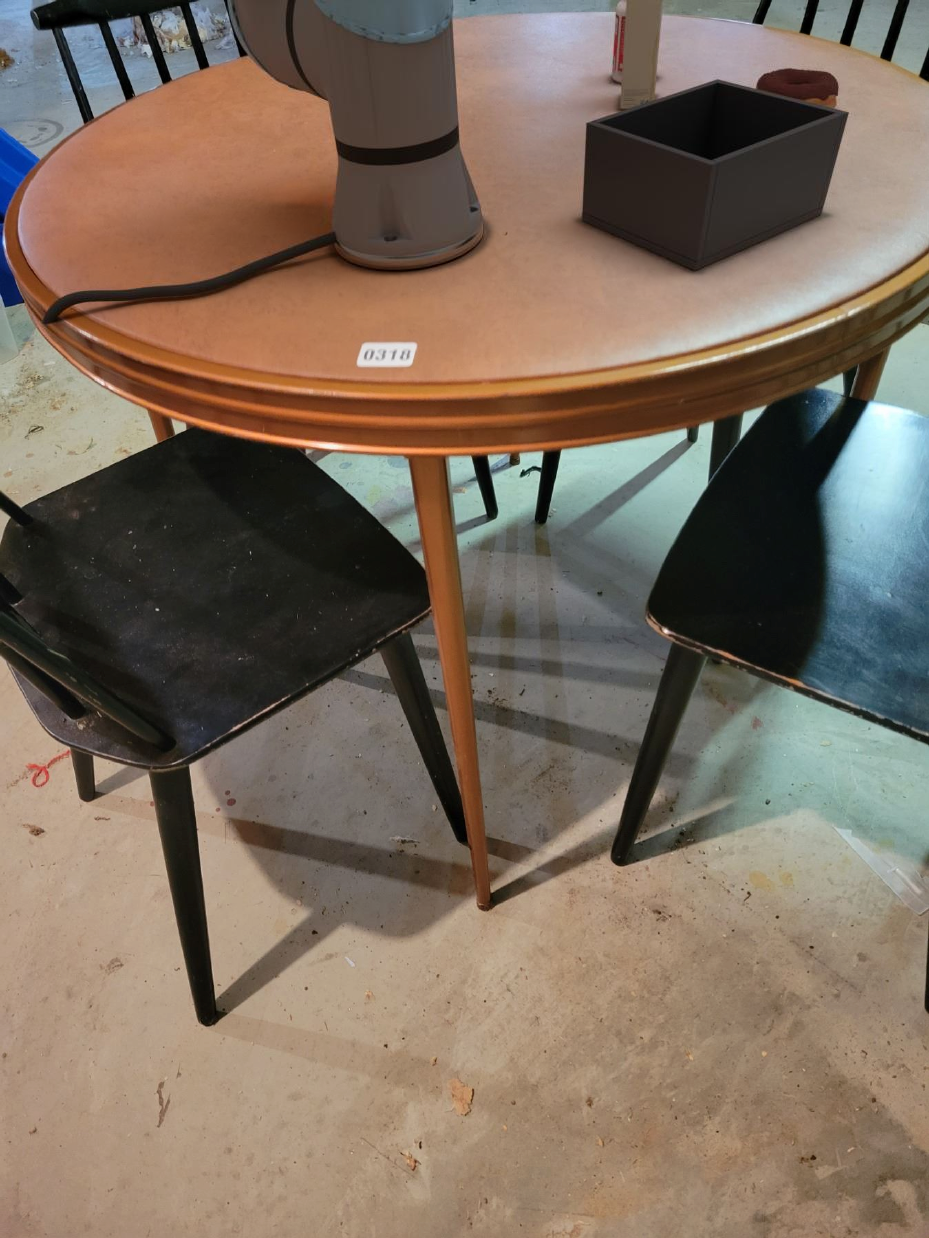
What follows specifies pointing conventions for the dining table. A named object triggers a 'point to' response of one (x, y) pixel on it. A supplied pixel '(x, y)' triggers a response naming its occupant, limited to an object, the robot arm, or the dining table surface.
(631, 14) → the cosmetic box
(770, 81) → the donut
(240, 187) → the dining table surface
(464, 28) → the dining table surface
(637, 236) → the storage bin
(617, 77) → the pill bottle
